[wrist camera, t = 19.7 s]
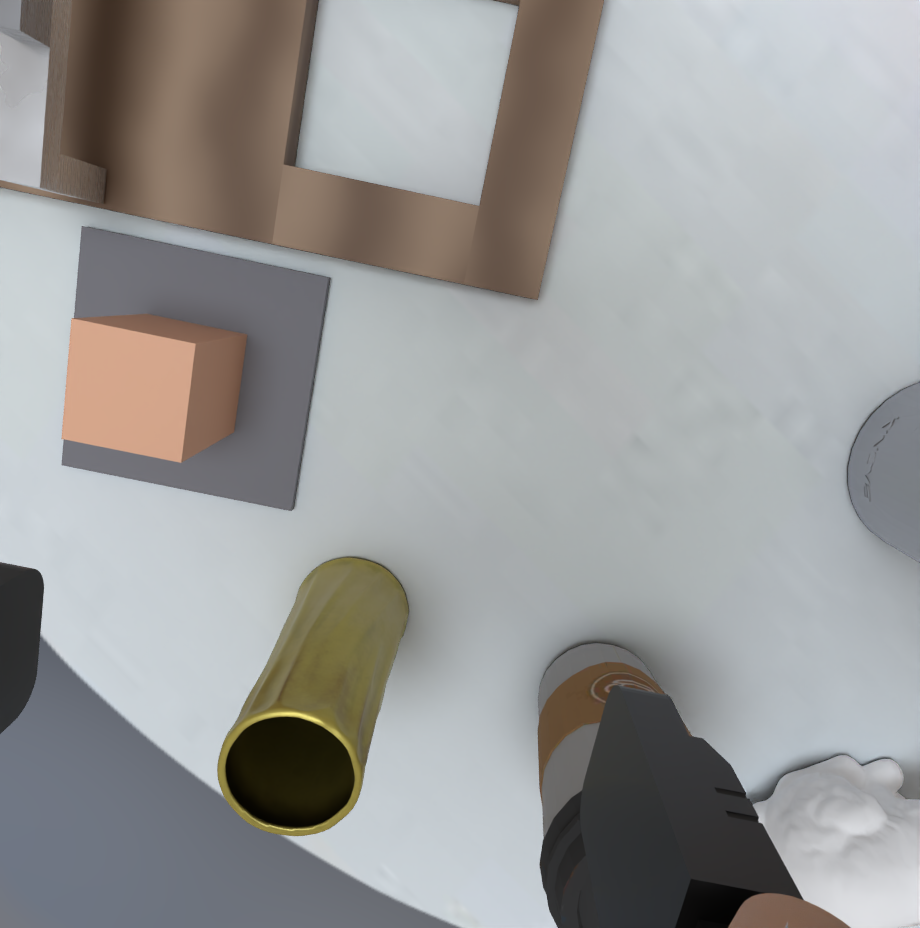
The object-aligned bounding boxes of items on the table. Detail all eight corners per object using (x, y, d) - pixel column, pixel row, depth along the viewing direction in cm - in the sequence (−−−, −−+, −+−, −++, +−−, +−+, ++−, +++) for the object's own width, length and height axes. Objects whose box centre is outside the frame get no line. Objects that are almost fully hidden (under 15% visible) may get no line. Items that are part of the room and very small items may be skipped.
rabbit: (937, 734, 41) (1120, 908, 30) (938, 876, 43) (1109, 1091, 32) (719, 760, 42) (814, 940, 30) (730, 899, 44) (823, 1118, 32)
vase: (418, 651, 41) (389, 836, 27) (309, 668, 41) (226, 859, 27) (396, 547, 39) (355, 685, 26) (284, 566, 40) (183, 712, 26)
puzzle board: (614, -64, 33) (623, -86, 31) (534, 299, 36) (537, 299, 35) (-17, -205, 32) (-48, -237, 30) (-36, 179, 36) (-65, 173, 34)
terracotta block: (247, 334, 37) (195, 343, 30) (234, 432, 38) (181, 462, 31) (146, 313, 36) (71, 318, 30) (136, 412, 38) (61, 438, 31)
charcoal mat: (330, 277, 36) (328, 277, 36) (293, 508, 39) (291, 510, 39) (87, 227, 36) (81, 226, 36) (66, 462, 39) (61, 464, 38)
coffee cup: (689, 640, 40) (813, 837, 26) (646, 771, 42) (737, 1025, 28) (541, 606, 40) (580, 786, 25) (503, 740, 42) (520, 979, 27)
